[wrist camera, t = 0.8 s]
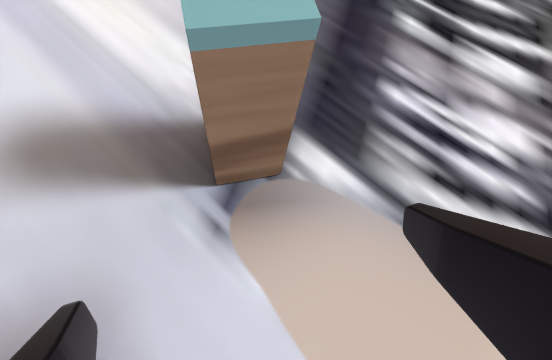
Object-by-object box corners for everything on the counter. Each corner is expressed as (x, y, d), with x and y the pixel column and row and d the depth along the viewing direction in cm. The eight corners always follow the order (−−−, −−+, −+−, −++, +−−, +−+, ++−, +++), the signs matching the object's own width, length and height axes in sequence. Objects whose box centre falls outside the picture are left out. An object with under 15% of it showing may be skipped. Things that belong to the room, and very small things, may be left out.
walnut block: (280, 174, 24) (321, 17, 12) (216, 185, 23) (185, 29, 11) (266, 121, 26) (288, -63, 14) (207, 130, 25) (170, -59, 13)
